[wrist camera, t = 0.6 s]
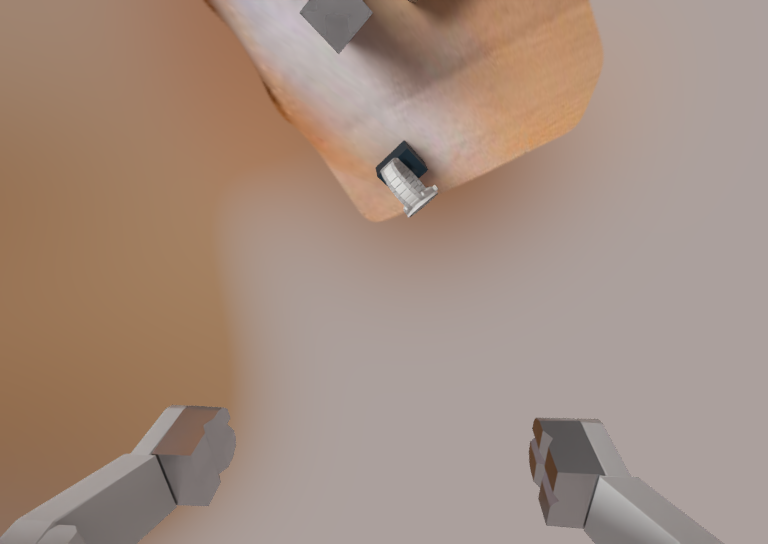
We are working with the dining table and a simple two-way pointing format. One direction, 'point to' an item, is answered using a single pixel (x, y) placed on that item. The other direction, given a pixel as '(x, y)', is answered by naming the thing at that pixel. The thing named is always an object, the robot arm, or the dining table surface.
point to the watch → (406, 178)
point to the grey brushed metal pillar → (336, 19)
